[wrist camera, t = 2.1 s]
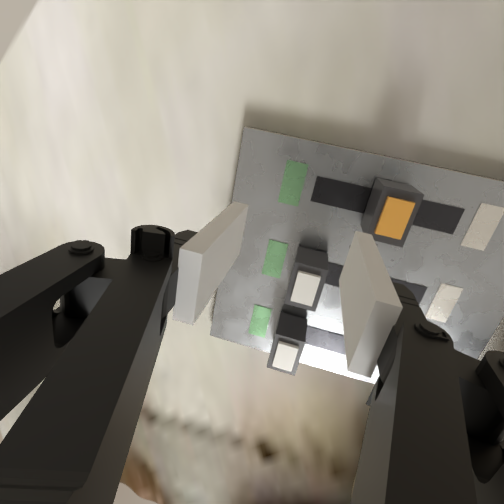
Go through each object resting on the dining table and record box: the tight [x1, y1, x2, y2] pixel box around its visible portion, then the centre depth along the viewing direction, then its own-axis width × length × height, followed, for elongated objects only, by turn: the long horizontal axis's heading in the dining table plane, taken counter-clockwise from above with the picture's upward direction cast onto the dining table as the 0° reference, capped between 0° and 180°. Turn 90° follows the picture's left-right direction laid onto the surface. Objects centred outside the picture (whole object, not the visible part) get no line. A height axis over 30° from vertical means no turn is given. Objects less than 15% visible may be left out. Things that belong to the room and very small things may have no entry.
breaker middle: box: [284, 246, 329, 312], centre depth 30 cm, size 4×3×4 cm
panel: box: [210, 127, 504, 384], centre depth 33 cm, size 24×28×2 cm
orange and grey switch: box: [360, 178, 424, 248], centre depth 26 cm, size 4×3×4 cm
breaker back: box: [267, 312, 308, 376], centre depth 34 cm, size 4×3×4 cm
